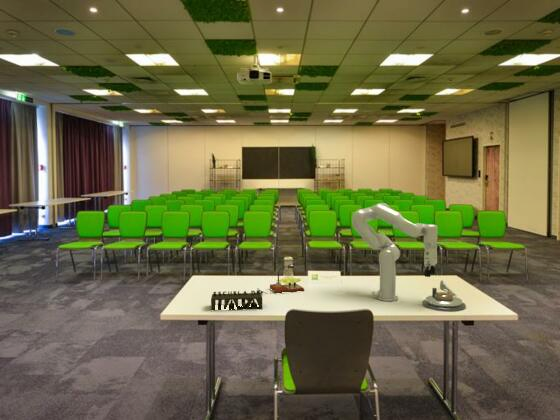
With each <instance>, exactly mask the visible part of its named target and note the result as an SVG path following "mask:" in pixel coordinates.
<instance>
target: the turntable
mask: <svg viewBox="0 0 560 420" xmlns="http://www.w3.org/2000/svg"><path fill="white" fill-rule="evenodd" d="M437 291H438V290H437V288H436V287H432V291H431V292H432V294H431V295H427V296H426V297H425V300H426V303H427V304H429V305H432V306H436V307H445V308H453V307H459V306H461V305H462V302H463V299H461V298H459V297H457V296H453V294H451V293H448V292H441V291H439V292H437Z"/></svg>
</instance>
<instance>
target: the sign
mask: <svg viewBox="0 0 560 420" xmlns="http://www.w3.org/2000/svg"><path fill="white" fill-rule="evenodd" d="M232 292H233V293H232ZM259 292H260V291H257V290H256V291H255V290H251V291H250V292H247V291H246V290H244V291H243V293H242V292H241V293H240V291H239V290H238V291H235V290H234V291H228V292H227V291H223V292H222V291H218V292H217V291H213V293H212V294H211V298H210V303H211V304H210V311H211V310H215V305H218V310H221V305H224V309H226V307H227V305H229V310H228V311H244V310H243V309H259V310H263V295H262V294H263V293H262V294H261V293H259ZM239 300H241V301H240V302H241V304H242V306H243V307H242V306H241V307H240V306H238V304H239ZM216 301H218V302H217V303H216ZM246 301H247V302H246ZM222 302H223V303H224V304H223V303H222ZM234 304H235V305H236V307H237V310H235V309H234ZM250 304H251V307H249V306H250ZM257 304H258V305H259V307H257ZM231 309H232V310H231Z"/></svg>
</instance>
